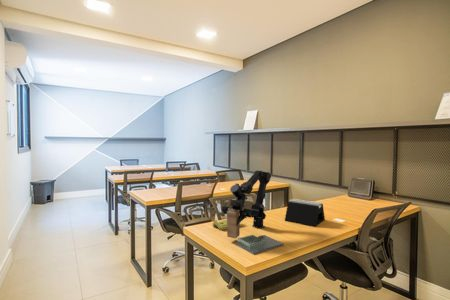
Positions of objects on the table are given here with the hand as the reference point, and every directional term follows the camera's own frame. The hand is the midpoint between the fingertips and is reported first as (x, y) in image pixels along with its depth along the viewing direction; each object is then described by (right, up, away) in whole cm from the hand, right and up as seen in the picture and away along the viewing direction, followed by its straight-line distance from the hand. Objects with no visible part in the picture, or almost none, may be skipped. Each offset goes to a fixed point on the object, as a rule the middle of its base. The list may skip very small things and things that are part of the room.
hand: (232, 224), depth 148 cm
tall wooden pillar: (+1, -8, +1) cm, 8 cm away
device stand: (+56, -10, +43) cm, 72 cm away
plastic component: (-2, -10, +29) cm, 31 cm away
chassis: (+15, -11, -4) cm, 19 cm away
